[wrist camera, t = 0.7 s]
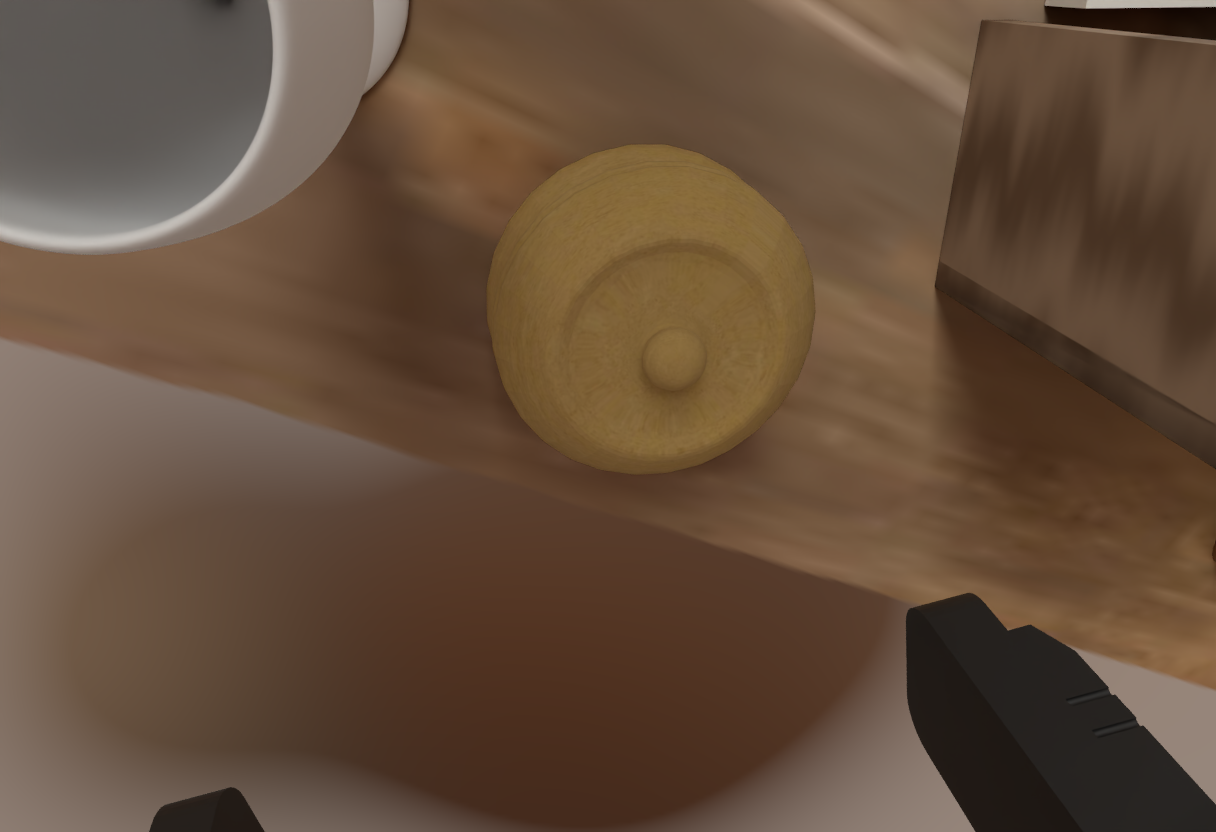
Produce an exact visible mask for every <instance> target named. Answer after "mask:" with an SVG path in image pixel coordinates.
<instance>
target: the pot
mask: <svg viewBox="0 0 1216 832" xmlns="http://www.w3.org/2000/svg"><path fill="white" fill-rule="evenodd" d="M486 294H487V324H488V327H489V331H490V334H491V338H492V348H493V352H494V356H495V359H496V363H497V366H498V370H499V373H500V377H501V380H502V383H503V386H504V389H505V391H506V392H507V394H508V396H509V398H510V399H511V401H512V403H513V405H514V406H515V408H516V410H517V412H518V413H519V415H520V417H521V418H522V419H523V420H524V421H525V422H526V423H527V424H528V425H529V427H530V428H531V429H532V430H533V431H534V432H535V433H536V434H537V435H538V436H539V437H540V438H541V439H542V440H543V441H544V442H545V443H547V444H548V445H550V446H551V447H553V448H554V449H556V450H557V451H559V452H560V453H562V454H564V455H565V456H567V457H568V458H570V459H572V460H575V461H577V462H580V463H583V464H586V465H588V466H591V467H594V468H597V469H599V470H605V471H612V472H619V473H626V474H633V475H638V474H656V473H669V472H673V471H677V470H681V469H685V468H689V467H693V466H697V465H700V464H702V463H705V462H707V461H709V460H711V459H713V458H715V457H717V456H719V455H721V454H723V453H726V452H728V451H730V450H731V449H732V448H734V447H735V446H736V445H738V444H739V443H741V442H742V441H743V440H745V439H746V438H748V437H749V436H750V435H752V434H753V433H754V432H756V431H757V430H758V429H759V428H760V427H761V426H762V425H763V424H764V423H765V422H766V421H767V420H768V418H769V417H770V416H771V415H772V414H773V413H774V412H775V411H776V410H777V409H778V408H779V407H780V405H781V404H782V402H783V401H784V399H785V398H786V396H787V395H788V393H789V391H790V390H791V388H792V387H793V385H794V384H795V382H796V381H797V379H798V377H799V374H800V372H801V369H802V366H803V364H804V361H805V358H806V356H807V353H808V350H809V348H810V345H811V338H812V331H813V325H814V318H815V300H814V287H813V277H812V274H811V271H810V268H809V265H808V261H807V258H806V255H805V252H804V249H803V246H802V244H801V243H800V241H799V240H798V238H797V237H796V235H795V234H794V232H793V230H792V229H791V227H790V226H789V224H788V223H787V221H786V220H785V218H784V217H783V216H782V215H781V214H780V213H779V211H778V210H776V209H775V208H774V207H773V206H772V205H771V204H770V203H769V202H768V201H767V200H766V199H764V198H763V197H762V196H761V195H760V194H759V193H758V192H757V191H756V190H755V189H754V188H752V187H751V186H749V185H747V184H746V183H745V182H743V181H742V180H741V179H740V178H739V177H738V176H737V175H736V174H735V173H734V172H733V171H731V170H730V169H728V168H726V167H724V166H722V165H720V164H719V163H717V162H715V161H713V160H711V159H709V158H708V157H706V156H704V155H702V154H700V153H697V152H693V151H689V150H685V149H681V148H677V147H674V146H670V145H655V144H630V145H625V146H621V147H617V148H613V149H608V150H604V151H600V152H596V153H593V154H591V155H589V156H586V157H584V158H582V159H580V160H578V161H576V162H574V163H572V164H570V165H568V166H566V167H564V168H562V169H560V170H559V171H557V172H556V173H555V174H554V175H552V176H551V177H550V178H549V179H547V180H546V181H545V182H544V183H542V184H541V185H540V186H539V187H537V188H536V189H535V190H534V191H532V192H531V193H530V195H529V196H528V197H527V198H526V200H525V201H524V202H523V204H522V205H521V206H520V207H519V209H518V210H517V211H516V213H515V214H514V215H513V216H512V218H511V219H510V220H509V222H508V224H507V226H506V228H505V230H504V232H503V235H502V237H501V239H500V241H499V243H498V245H497V248H496V250H495V252H494V254H493V259H492V264H491V268H490V273H489V278H488V282H487V287H486Z"/></svg>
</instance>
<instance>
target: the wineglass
mask: <svg viewBox="0 0 1216 832" xmlns="http://www.w3.org/2000/svg"><path fill="white" fill-rule="evenodd" d="M408 8H409V0H0V241H2V242H6V243H9V244H13V245H17V246H21V247H26V248H31V249H36V250H42V251H48V252H57V253H66V254H83V255H101V254H116V253H126V252H133V251H140V250H146V249H152V248H158V247H163V246H168V245H172V244H177V243H181V242H185V241H189V240H192V239H196V238H199V237H202V236H206V235H209V234H212V233H215V232H217V231H220V230H223V229H226V228H228V227H230V226H233V225H235V224H237V223H240V222H242V221H244V220H246V219H249V218H251V217H253V216H254V215H256V214H258V213H260V212H262V211H263V210H265V209H267V208H269V207H270V206H272V205H274V204H275V203H277V202H278V201H280V200H281V199H283V198H284V197H285V196H287V195H288V194H289V193H291V192H292V191H293V190H295V189H296V188H297V187H298V186H300V185H301V184H302V183H303V182H304V181H305V180H306V179H308V178H309V177H310V176H311V175H312V174H313V173H314V172H315V171H316V169H317V168H318V167H319V166H320V165H321V164H322V163H323V162H324V161H325V159H326V158H327V157H328V156H329V155H330V153H331V152H332V151H333V149H334V148H335V147H336V145H337V144H338V142H339V141H340V139H341V138H342V136H343V134H344V133H345V131H346V129H347V127H348V126H349V124H350V122H351V120H352V118H353V116H354V114H355V112H356V109H357V107H358V105H359V102H360V100H361V97H362V95H363V94H365V93H366V92H367V91H368V90H369V89H371V88H372V87H373V86H374V85H375V84H376V83H377V82H378V81H379V79H380V78H381V77H382V76H383V75H384V73H385V72H386V71H387V69H388V68H389V66H390V65H391V63H392V61H393V59H394V58H395V56H396V54H397V51H398V49H399V47H400V44H401V42H402V39H403V35H404V32H405V28H406V23H407V17H408Z"/></svg>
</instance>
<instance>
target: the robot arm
mask: <svg viewBox="0 0 1216 832" xmlns="http://www.w3.org/2000/svg"><path fill="white" fill-rule="evenodd" d="M906 656H907V699H908V705H909V710H910V714H911V717H912V721H913V723H914V726H915V729H916V732H917V734H918V736H919V738H920V740H921V742H922V744H923V746H924V748H925V750H926V752H927V753H928V755H929V756H930V758H931V760H932V761H933V763H934V765H935V766H936V768H937V770H938V771H939V773H940V775H941V776H942V778H943V779H944V781H945V783H946V784H947V786H948V788H949V789H950V791H951V793H952V794H953V796H954V797H955V799H956V801H957V802H958V804H959V805H960V807H961V809H962V810H963V812H964V814H965V815H966V817H967V819H968V820H969V822H970V823H971V825H972V827H973V828H974V830H975V832H1216V804H1215V803H1214V802H1213V801H1212V800H1211V799H1210V798H1209V797H1208V796H1207V795H1206V794H1205V792H1204V791H1203V790H1202V789H1201V788H1200V787H1199V786H1198V785H1197V784H1196V783H1195V781H1194V780H1193V779H1192V778H1191V777H1190V776H1189V775H1188V774H1187V773H1186V772H1185V771H1184V770H1183V768H1182V767H1180V765H1179V764H1178V763H1177V762H1176V761H1175V760H1174V759H1173V757H1172V756H1171V755H1170V754H1169V753H1168V752H1167V751H1166V750H1165V749H1164V748H1163V746H1162V745H1161V744H1160V743H1159V742H1158V741H1157V740H1156V739H1155V738H1154V737H1153V736H1152V734H1151V733H1150V732H1149V731H1148V730H1147V729H1146V728H1145V727H1144V726H1139V724H1138V723H1137V721H1136V717H1135V716H1134V715H1133V714H1132V713H1131V711H1130V710H1129V709H1128V708H1127V707H1126V706H1125V705H1124V704H1123V703H1122V702H1121V700H1120V699H1118V697H1117V696H1116V695H1111V694H1110V692H1109V689H1108V686H1107V685H1106V684H1105V683H1104V682H1103V681H1102V680H1101V679H1100V678H1099V676H1098V675H1097V674H1096V673H1095V672H1094V671H1093V670H1092V669H1091V668H1090V667H1089V665H1088V664H1087V663H1086V662H1085V661H1084V660H1083V659H1082V658H1081V657H1080V656H1079V655H1078V653H1077V652H1076V651H1074V650H1073V649H1071V648H1069V647H1068V646H1066V645H1064V644H1062V643H1061V642H1059V641H1057V640H1056V639H1054V638H1052V637H1051V636H1049V635H1047V634H1045V633H1044V632H1042V631H1040V630H1039V629H1037V628H1035V627H1034V626H1032V625H1027V626H1023V627H1020V628H1016V629H1012V630H1009V631H1008V630H1007V629H1006V628H1005V627H1004V626H1003V624H1002V623H1001V622H1000V621H999V620H998V618H997V617H996V616H995V615H994V614H993V613H992V611H991V610H990V609H989V608H988V607H987V605H986V604H985V603H984V602H983V601H982V600H981V599H980V598H979V597H978V596H976V595H974V594H972V593H966V594H962V595H959V596H955V597H951V598H947V599H944V600H940V601H936V602H932V603H929V604H925V605H921V606H917V607H914V608H910V609H909V610H908V612H907V616H906ZM149 832H264V830H263V828H262V827H261V825H260V823H259V822H258V820H257V818H256V817H255V815H254V813H253V811H252V810H251V808H250V806H249V805H248V803H247V802H246V800H245V798H244V796H243V795H242V794H241V792H240V791H239V790H237V789H236V788H232V787H230V788H226V789H223V790H219V791H215V792H211V793H208V794H204V795H200V796H197V797H193V798H189V799H185V800H182V801H178V802H174V803H170V804H167V805H164V806H163V807H161V809H159V811H158V812H157V814H156V815H155V817H154V819H153V822H152V825H151V828H150V831H149Z"/></svg>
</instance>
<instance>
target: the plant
mask: <svg viewBox="0 0 1216 832" xmlns="http://www.w3.org/2000/svg"><path fill="white" fill-rule="evenodd" d="M1212 556H1213V560H1214V561H1216V541H1215V544H1214V548H1213V553H1212Z"/></svg>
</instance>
